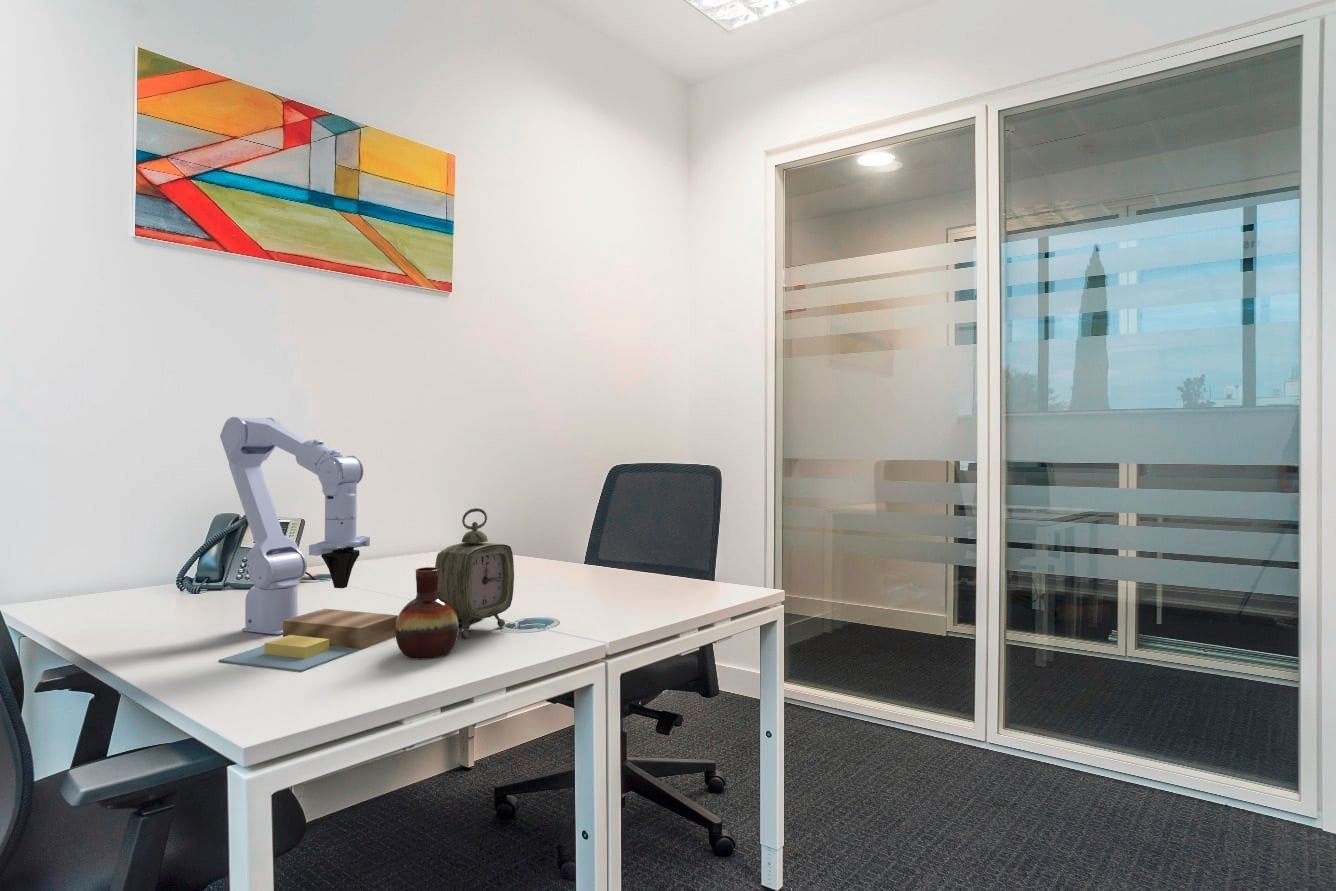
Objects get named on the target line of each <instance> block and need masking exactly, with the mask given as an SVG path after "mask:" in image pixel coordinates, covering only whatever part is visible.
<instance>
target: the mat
mask: <svg viewBox="0 0 1336 891" xmlns="http://www.w3.org/2000/svg"><path fill="white" fill-rule="evenodd" d="M359 651H360V650H359V649H357V648H347V647H338V646H330V650H328V651H325V652H322V653H320V654H317V655H314V656H311V657H309V658H306V659H304V658H295V657H286V656H277V655H268V654H264V645H261V646H258V647H255V648H252V649H248V650H245V651H243V652H239V653H236V654H233V655H230V656H226V657H224V658H220V659H218V662H220V663H226V662H227V664H237V665H244V666H252V667H259V668H269V669H277V670H285V671H292V672H294V671H295V672H300V673H301V672H305V671H307V670H310V669H312V668H315V667H318V666H321V665H324V664H327V663H329V662H332V661H334V660H337V659H339V658H341V657H344V656H348V655H350V654H352V653H356V652H359Z"/></svg>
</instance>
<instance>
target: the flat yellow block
mask: <svg viewBox="0 0 1336 891" xmlns="http://www.w3.org/2000/svg"><path fill="white" fill-rule="evenodd" d="M263 644H264V645H263V646H264V654H268V655H277V656H286V657H295V658H304V659H306V658H309V657H311V656H314V655H317V654H320V653H322V652H325V651H328V650H330V639H324V638H314V637H305V636H295V635H288V636H285V637H283V636H282V637H279V638H276V639H273V640H269V641H266V642H264V643H263Z"/></svg>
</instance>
